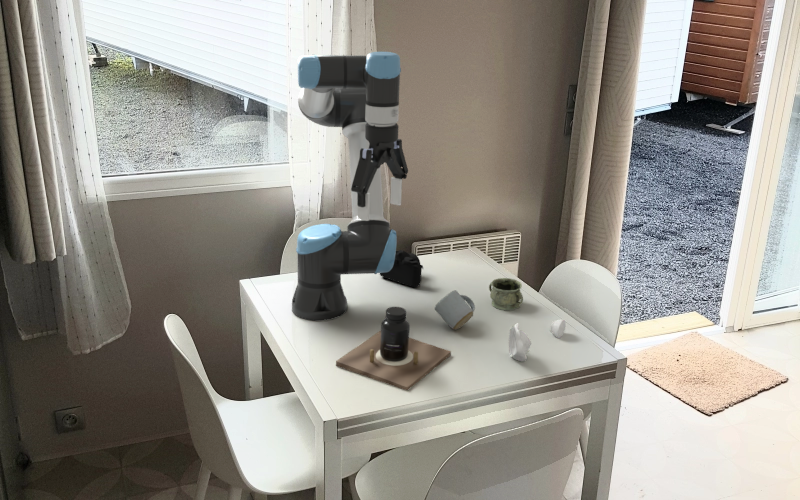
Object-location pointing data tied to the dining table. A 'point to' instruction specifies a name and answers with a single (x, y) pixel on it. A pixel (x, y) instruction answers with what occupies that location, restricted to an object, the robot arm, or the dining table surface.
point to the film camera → (405, 269)
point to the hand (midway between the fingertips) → (380, 211)
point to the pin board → (394, 373)
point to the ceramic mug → (455, 309)
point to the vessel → (506, 293)
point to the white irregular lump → (558, 328)
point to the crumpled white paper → (518, 343)
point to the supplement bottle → (394, 335)
